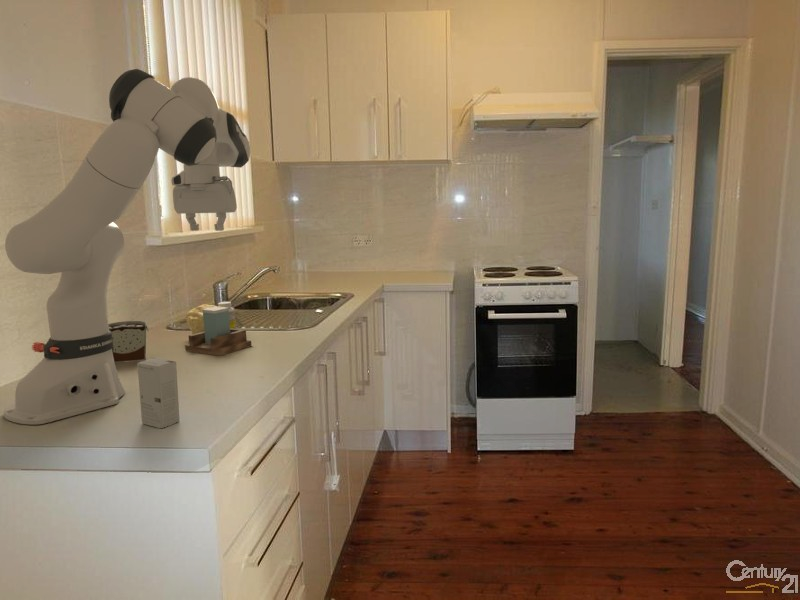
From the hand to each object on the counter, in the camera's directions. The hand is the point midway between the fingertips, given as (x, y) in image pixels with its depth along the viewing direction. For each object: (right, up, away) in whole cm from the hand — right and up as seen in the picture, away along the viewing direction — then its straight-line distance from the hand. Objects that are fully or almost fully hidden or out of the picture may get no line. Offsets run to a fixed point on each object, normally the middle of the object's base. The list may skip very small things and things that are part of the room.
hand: (206, 230), depth 153 cm
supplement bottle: (-4, -29, +32) cm, 44 cm away
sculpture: (-8, -30, +26) cm, 41 cm away
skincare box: (+6, -42, -43) cm, 60 cm away
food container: (-23, -35, +5) cm, 42 cm away
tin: (-1, -31, +14) cm, 34 cm away
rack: (-1, -32, +14) cm, 35 cm away
